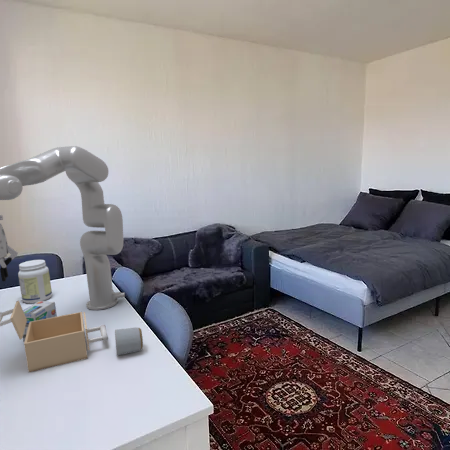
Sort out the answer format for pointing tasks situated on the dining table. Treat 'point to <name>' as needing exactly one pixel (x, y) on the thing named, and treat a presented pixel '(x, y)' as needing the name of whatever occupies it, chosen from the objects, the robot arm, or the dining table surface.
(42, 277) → the supplement tub
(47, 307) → the light bulb box
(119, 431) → the dining table surface
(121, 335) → the ceramic mug
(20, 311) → the flap
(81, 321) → the carton
